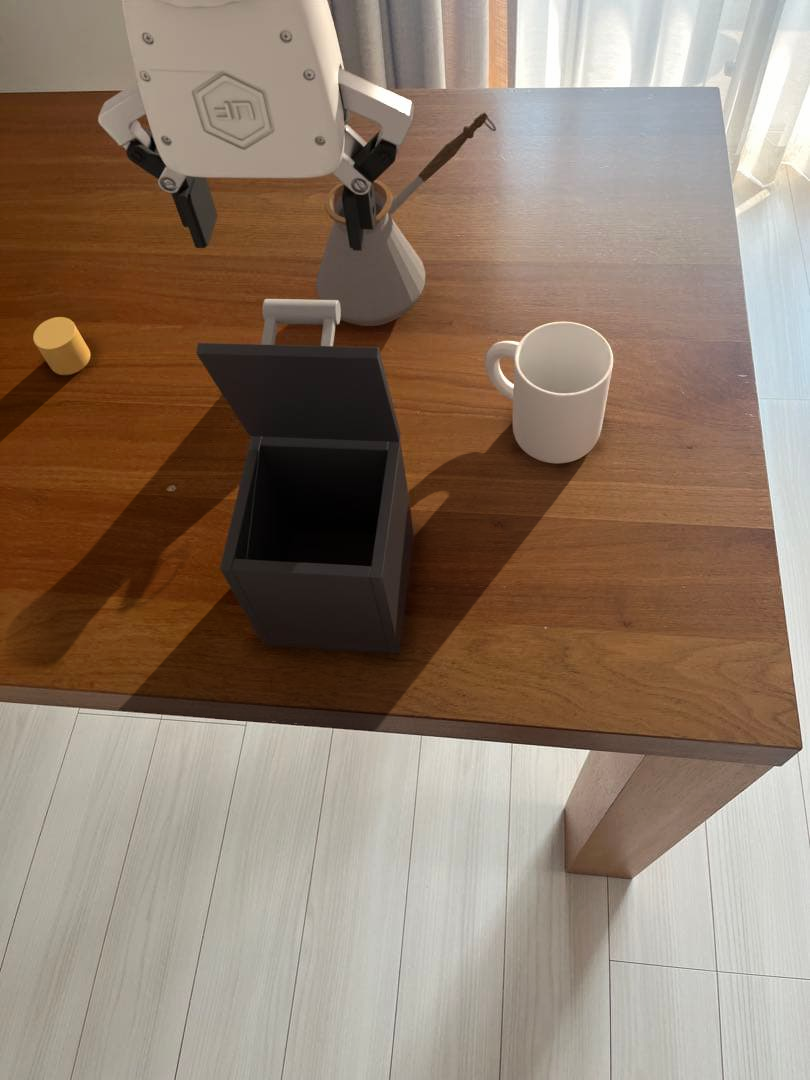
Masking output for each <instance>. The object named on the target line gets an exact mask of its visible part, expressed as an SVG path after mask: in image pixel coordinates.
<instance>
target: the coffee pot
mask: <svg viewBox="0 0 810 1080" xmlns="http://www.w3.org/2000/svg"><path fill="white" fill-rule="evenodd" d="M486 121H488V123H489V124H490V125H491V126H492V127H491V126H490V125H489V124H488V123H487V122H486ZM483 125H485V126H486V127H487V128H488V129H489V130H490V131H492V132H496V131H497V128H496V125H495V124H494V123H493V121H492V120H491V119H490V118H489V116H488V114H487V113H486V112H483V113H480V114H479V115H478V116H477V117H476V118H474V119H473V122H472V123H471V124H470V125H465V126H464V127H463V129H462V132H461V133H460V134H458V135H457V136H456V137H455V138H453V139H452V140H450V141H449V142H448V143H446V144H444V146H443V147H442V149H440V151H439V152H438V153H437V154H436V155H435V156H434V157H433V158H432V160H431V161H430V162H429V163H428V164H427V165H426V166H425V167H424V168H423V169H422V170H421V171H420V173H418V175H417V176H416V178H415V179H413V180H412V181H411V182H410V183H409V184H408V185H407V186H406V187H405V188H404V189H402V190H401V191H400V192H399V193H398V194H397V195H396V196H395V197H393V194H392V192H391V190H390V188H389V187H388V186H387V185H386V184H385V183H384V182H382V181H380V180H378V179H376V180H375V181H374V182H373V190H374V198H375V206H376V223H375V228H374V230H371V229H366V234H365V239H364V244H363V249H362V251H353V248H350V246H349V240H348V234H347V228H346V222H345V215H344V209H343V203H342V194H343V190H344V184H343V183H342V182H341V181H340V182H339V183H337V184H336V185H335V186H333V187H332V188H331V190H329V192H328V193H327V195H326V197H325V199H324V200H325V201H324V209H325V212H326V213H327V215H328V216H329V217H330V218H331V220H333V223H332V227H331V230H330V232H329V236H328V238H327V239H328V240H327V242H326V245H325V248H324V251H323V253H322V254H323V255H322V257H321V260H320V264H319V267H318V271H317V275H316V281H315V288H316V293H317V297H318V298H319V300H338V301H339V302H340V308H341V317H340V321H344V322H345V323H348V324H353V325H359V326H365V327H377V326H382V325H386V324H389V323H391V322H393V321H395V320H397V319H399V318H401V317H402V316H403V315H406V313H408V312H409V311H411V309H412V308H413V307H414V306H415V305H416V303H418V301H419V299H420V297H421V295H422V293H423V290H424V288H425V285H426V275H427V274H426V273H427V272H426V270H425V266H424V263H423V261H422V259H421V258H420V256H419V255H418V253H417V251H416V250H415V249H414V248H413V246H412V244H410V242H409V241H408V240H407V238H406V237H405V235H404V234H403V232H402V230H400V228H399V226H398V225H397V223H396V222H395V220H393V218H392V215H393V214H394V213H395V212H396V211H397V210H398V209H399V208H400V207H401V206H402V205H403V204H404V203H405V202H406V201H407V200H408V199H409V198H410V197H411V195H412V194H414V192H416V190H418V188H419V187H420V186H421V185H422V184H423V183H425V182H427V181H428V180H429V179H430V178H431V177H432V176H433V175H434V174H436V172H438V171H439V170H440V169H441V168H442V167H443V166H444V165H446V164H448V162H449V161H450V160H451V159H452V158H453V157H455V156H456V155H457V153H458V152H459V151H460V150H461V148H462V146H464V145H465V143H466V141H467V140H469V139H473V138H474V135H475V132H476V131H477V130H478V129H480V128H481V127H482V126H483Z"/></svg>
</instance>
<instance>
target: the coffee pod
mask: <svg viewBox="0 0 810 1080" xmlns="http://www.w3.org/2000/svg"><path fill="white" fill-rule="evenodd" d="M32 339H33V340H32V341H33V343H34V345H35V346H36V348H37V349H38V351H39V352H40V354H41V356H42V357H43V359H44V360H45V362H46V363H47V365H48V366H49V368H50V369H51V371H52V372H54V373H55V374H57V375H60V376H71V375H73V374H76V373H78V372H80V371H81V370H83V369H84V368H85V367H86V366H87V365H88V364H89V362H90V360H91V350H90V348H89V347H88V345H87V343H86V342H85V340H84V337H82V335H81V333H80V331H79V330H78V328H77V325H76V324H75V322H74V321H72V319H70V318H68V317H64V316H58V317H57V316H55V317H52V318H49V319H46V320H45V321H43V322H42V323H40V324H39V325H38V326H37V327H36V329H35V330H34V331H33V336H32Z"/></svg>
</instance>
